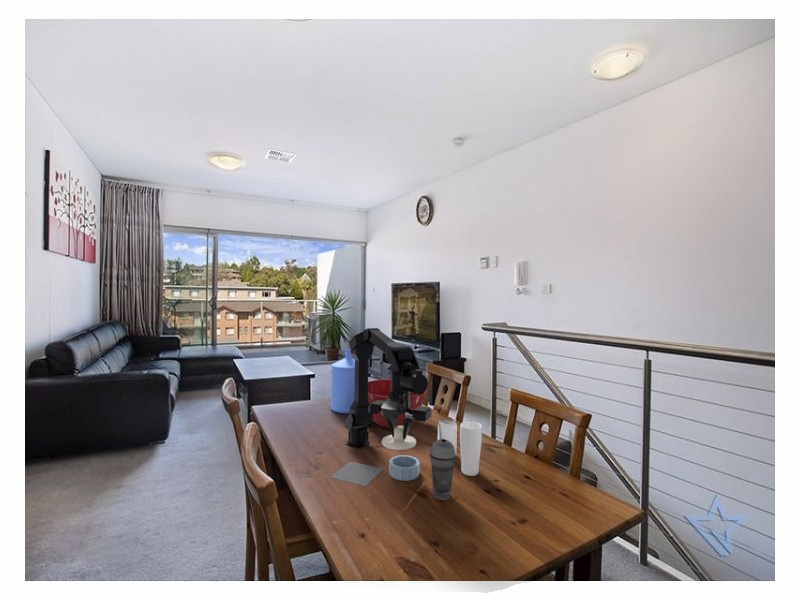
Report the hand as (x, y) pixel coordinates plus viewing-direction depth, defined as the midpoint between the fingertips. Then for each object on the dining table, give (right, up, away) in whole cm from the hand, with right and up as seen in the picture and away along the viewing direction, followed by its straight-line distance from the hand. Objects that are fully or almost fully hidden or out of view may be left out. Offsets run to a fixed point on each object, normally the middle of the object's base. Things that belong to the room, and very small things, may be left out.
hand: (399, 438), depth 119 cm
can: (+16, -12, +15) cm, 25 cm away
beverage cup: (+12, -12, -11) cm, 20 cm away
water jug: (-25, -9, +65) cm, 70 cm away
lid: (0, -1, 0) cm, 1 cm away
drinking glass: (+22, -12, +3) cm, 25 cm away
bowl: (+2, -11, +1) cm, 11 cm away
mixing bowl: (-3, -10, +47) cm, 48 cm away
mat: (-13, -11, 0) cm, 17 cm away
